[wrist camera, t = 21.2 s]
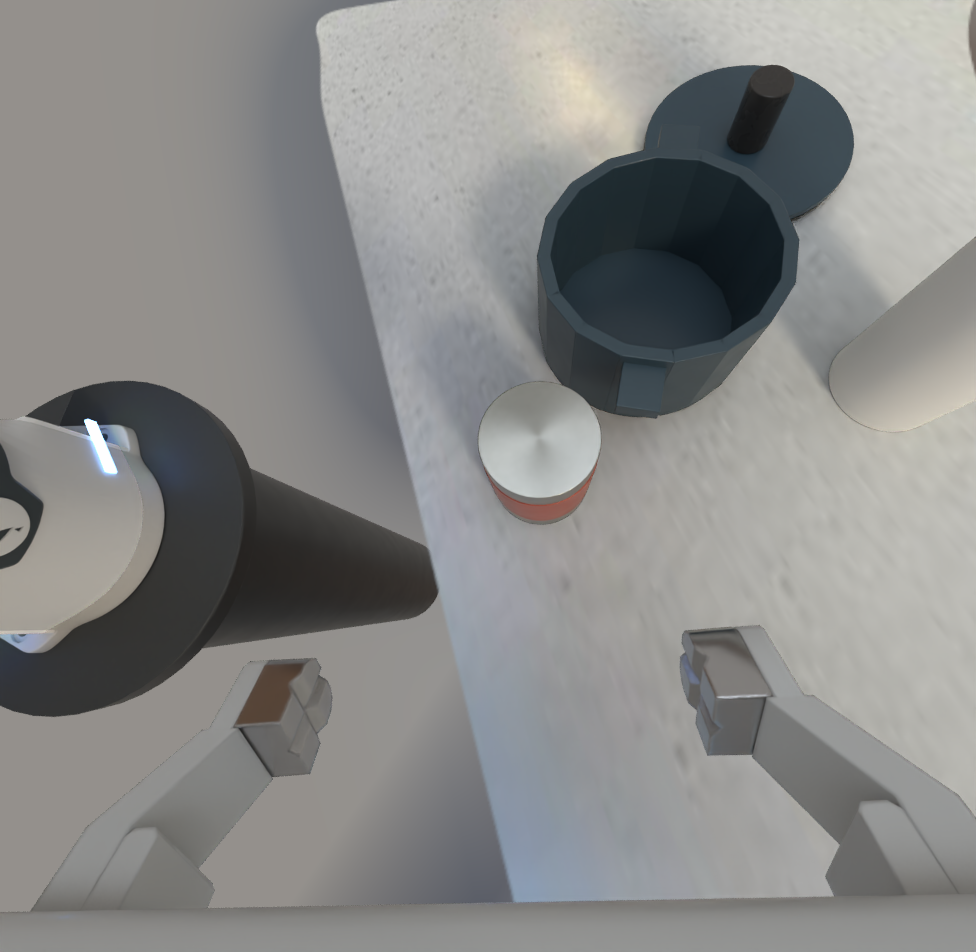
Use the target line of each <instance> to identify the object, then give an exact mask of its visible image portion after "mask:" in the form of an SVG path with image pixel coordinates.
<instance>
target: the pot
mask: <svg viewBox="0 0 976 952" xmlns="http://www.w3.org/2000/svg"><path fill="white" fill-rule="evenodd" d="M699 133H700V126H686V125H667V124H663V125H662V127H661V131H660V135H659V140H658V146H657V147H656V148H651V149H647V150H643V151H639V152H635V153H631V154H627V155H623V156H619V157H615V158H611V159H610V160H609V159H608V160H607V161H605V162H603V163H602V164H600V165H599V166H597V167H595V168H594V169H592V170H591V171H589V172H588V173H586V174H584V175H583V176H581V177H580V178H578V179H577V180H575V181H573V182H572V183H571V184H570V185H569V186H568V188H567V189H566V190H565V192H564V193H563V194H562V196H561V197H560V198H559V200H558V201H557V203H556V204H555V205H554V207H553V208H552V209H551V211H550V212H549V213H548V215H547V216H546V218H545V223H544V227H543V232H542V236H541V241H540V245H539V250H538V254H537V274H538V310H539V331H540V335H541V340H542V346H543V350H544V353H545V356H546V360H547V362H548V363H549V365H550V367H551V369H552V371H553V372H554V374H555V375H556V377H557V378H558V380H559V381H560V382H561V383H562V384H563V385H564V386H566V387H568V388H570V389H572V390H573V391H575V392H576V393H578V394H579V395H580V396H582V397H583V398H584V399H585V400H586V401H587V402H588V403H589V405H591V406H593V407H596V408H598V409H600V410H603V411H606V412H609V413H613V414H618V415H622V416H632V417H650V418H657V416H658V415H665V414H668V413H672V412H676V411H679V410H681V409H683V408H686V407H688V406H690V405H692V404H694V403H696V402H697V401H699V400H701V399H702V398H704V397H705V396H706V395H707V394H709V393H710V392H711V391H712V390H714V389H715V388H717V387H718V386H720V385H721V384H722V382H723V381H724V380H725V379H726V377H727V376H728V375H729V374H730V372H731V371H732V370H733V369H734V368H735V366H736V365H737V364H738V363H739V361H740V360H741V359H742V358H743V356H744V355H745V354H746V353H747V351H748V350H749V349H750V348H751V347H752V345H753V344H754V343H755V342H756V340H757V339H758V338H759V337H760V335H761V334H762V333H763V332H764V331H765V329H766V328H767V327H768V326H769V324H770V323H771V322H772V320H773V319H774V317H775V315H776V314H777V312H778V311H779V309H780V307H781V306H782V304H783V303H784V301H785V299H786V298H787V296H788V295H789V293H790V291H791V290H792V288H793V287H794V285H795V283H796V274H797V261H798V248H799V239H798V236H797V233H796V231H795V229H794V226H793V224H792V222H791V219H790V217H789V215H788V212H787V210H786V208H785V205H784V203H783V201H782V199H781V197H779V196H778V195H777V194H776V193H775V192H774V191H773V190H772V189H771V188H770V187H768V186H767V185H766V184H765V183H764V182H763V181H762V180H761V179H760V178H758V177H757V176H756V175H755V174H754V173H753V172H752V171H751V170H750V169H748V168H747V167H744V166H742V165H739V164H737V163H734V162H732V161H729V160H727V159H724V158H722V157H719V156H717V155H714V154H712V153H709V152H707V151H703V150H697V147H698V140H699Z"/></svg>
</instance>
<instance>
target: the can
mask: <svg viewBox="0 0 976 952" xmlns="http://www.w3.org/2000/svg"><path fill="white" fill-rule="evenodd" d="M601 442H602V437H601V429H600V424H599V421H598V418H597V416H596V414H595V412H594V410H593V409H592V407H591V406H590V405H589V403H588V402H587V401H586V400H585V399H584V398H583V397H582V396H580V395H579V394H578V393H576V392H575V391H573V390H572V389H570V388H568V387H566V386H563V385H560V384H557V383H552V382H543V381H540V382H529V383H524V384H521V385H518V386H515V387H513V388H511V389H509V390H507V391H506V392H504V393H503V394H502V395H500V396H499V397H498V398H497V399H496V400H495V401H494V402H493V403H492V404H491V405H490V406H489V408H488V409H487V411H486V412H485V414H484V416H483V418H482V421H481V424H480V427H479V432H478V450H479V454H480V458H481V461H482V463H483V466H484V469H485V471H486V474H487V476H488V478H489V480H490V482H491V484H492V486H493V489H494V491H495V493H496V495H497V496H498V498H499V500H500V501H501V503H502V504H503V506H504V507H505V508H506V509H507V510H508V511H509V512H510V513H511V514H512V515H513V516H515V517H516V518H518V519H520V520H522V521H525V522H528V523H532V524H551V523H554V522H558V521H560V520H562V519H564V518H566V517H568V516H569V515H570V514H571V513H573V512H574V511H575V510H576V509H577V507H578V506H579V505H580V503H581V502H582V500H583V498H584V496H585V494H586V492H587V490H588V487H589V484H590V482H591V479H592V476H593V474H594V471H595V468H596V465H597V461H598V458H599V454H600V450H601Z"/></svg>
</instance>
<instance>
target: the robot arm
mask: <svg viewBox="0 0 976 952" xmlns="http://www.w3.org/2000/svg"><path fill="white" fill-rule="evenodd" d="M84 422H85V424H86V426H56V425H53V424H50V423H47V422H44V421H40V420H37V419H34V418H30V417H24V416H21V417H19V418H18V419H16V420H13V419H0V638H2V639H3V640H5V641H7V642H8V643H10V644H12V645H13V646H15V647H17V648H18V649H20V650H21V651H23V652H26V653H44V652H46V651H48V650H50V649H51V648H53V647H54V646H55V645H56V644H58V643H59V642H60V641H61V640H62V639H63V638H64V637H65V636H66V635H68V634H69V633H70V632H71V631H72V630H73V629H74V628H76V627H78V626H80V625H82V624H84V623H87V622H89V621H92V620H94V619H96V618H99V617H101V616H103V615H104V614H106V613H108V612H110V611H111V610H113V609H114V608H116V607H117V606H118V605H119V604H121V603H122V602H123V601H124V600H125V599H127V598H128V597H129V596H130V595H131V594H132V593H133V591H134V590H135V589H136V588H137V587H138V586H139V584H140V583H141V582H142V580H143V579H144V577H145V576H146V574H147V573H148V571H149V569H150V568H151V566H152V564H153V562H154V560H155V557H156V555H157V552H158V550H159V547H160V543H161V540H162V535H163V529H164V519H165V512H164V503H163V497H162V493H161V490H160V487H159V485H158V483H157V481H156V479H155V477H154V476H153V474H152V473H151V472H150V470H149V469H148V468H147V466H146V465H145V463H144V462H143V460H142V458H141V455H140V449H139V443H138V439H137V436H136V433H135V432H134V430H133V429H131V428H128V427H125V426H121V425H97V422H95V421H92V420H89V419H86V420H85V421H84ZM682 645H683V648H684V650H685V653H684V654H683V655H682V656H681V657H680V674H681V681H682V685H683V689H684V692H685V695H686V698H687V701H688V703H689V704H690V705H691V706H692V707H694V708H695V709H696V710H697V715H696V726H697V729H698V731H699V734H700V737H701V740H702V742H703V745H704V748H705V750H706V753H707V756H708V755H752V757H753V758H754V759H755V760H756V761H757V762H758V763H759V764H760V765H761V766H762V767H763V768H764V769H765V770H766V771H767V772H768V773H769V774H770V775H771V776H772V777H773V778H774V779H775V780H776V781H777V782H778V783H779V784H780V785H781V786H782V787H783V788H784V789H785V790H786V791H787V792H788V793H789V794H790V795H791V796H792V797H793V798H794V799H795V800H796V801H797V802H798V803H799V804H800V805H801V806H802V807H803V808H804V809H805V810H806V811H807V812H808V813H809V814H810V815H811V816H812V817H813V818H814V819H815V820H816V821H817V822H818V823H819V824H820V825H821V826H822V827H823V828H824V829H825V830H826V831H827V832H828V833H829V834H830V835H831V836H832V837H833V838H834V839H835V840H836V841H837V842H838V843H839V844H840V846H839V848H838V850H837V852H836V854H835V857H834V859H833V861H832V863H831V865H830V867H829V869H828V871H827V873H826V876H825V877H826V879H827V881H828V884H829V886H830V888H831V890H832V892H833V894H834V896H833V897H778V898H724V899H670V900H616V901H562V902H511V903H510V902H509V903H458V904H407V905H405V904H404V905H355V906H354V905H353V906H352V905H351V906H304V907H303V906H299V907H247V908H208V905H209V903H210V900H211V898H212V895H213V893H214V887H213V883H212V882H211V881H210V880H209V879H208V878H207V877H206V876H205V875H204V874H203V873H202V872H201V871H200V870H199V867H200V866H201V865H202V864H203V863H204V861H205V860H206V859H207V858H208V857H209V855H210V854H211V853H212V852H213V850H214V849H215V848H216V847H217V846H218V844H219V843H220V842H221V841H222V839H224V837H225V836H226V835H227V834H228V833H229V831H230V830H231V829H232V828H233V827H234V825H235V824H236V823H237V822H238V821H239V819H240V818H241V817H242V816H243V814H244V813H245V812H246V811H247V810H248V809H249V807H250V806H251V805H252V804H253V802H254V801H255V800H256V799H257V798H258V797H259V795H260V794H261V793H262V792H263V791H264V789H265V788H266V787H267V786H268V785H269V783H270V782H271V781H272V780H273V778H272V777H279V776H292V775H305V774H310V773H311V770H312V767H313V764H314V761H315V758H316V755H317V752H318V749H319V746H320V741H319V738H318V735H317V733H318V732H319V731H320V730H321V729H322V728H323V727H324V726H325V725H326V724H327V722H328V719H329V716H330V713H331V707H332V692H331V688H330V685H329V683H328V681H327V680H326V679H324V678H323V677H321V676H320V675H319V673H320V670H321V666H320V664H319V663H318V661H317V659H316V658H309V659H308V658H306V659H283V660H266V661H250V662H249V663H248V664H247V665H245V666H244V667H243V669H242V670H241V672H240V674H239V676H238V678H237V679H236V681H235V683H234V685H233V687H232V688H231V690H230V692H229V694H228V696H227V697H226V699H225V701H224V703H223V704H222V706H221V708H220V710H219V711H218V713H217V715H216V717H215V719H214V721H213V722H212V724H211V726H210V728H209V729H208V730H201V731H200V732H199V733H198V734H197V735H196V736H194V737H193V738H192V739H191V740H190V741H188V742H187V743H186V744H185V745H184V746H182V747H181V748H180V749H179V750H178V751H176V752H175V753H174V754H173V755H172V756H170V757H169V758H168V759H167V760H166V761H165V762H163V763H162V764H161V765H160V766H159V767H157V768H156V769H155V770H154V771H153V772H151V773H150V774H149V775H148V776H147V777H145V778H144V779H143V780H142V781H141V782H139V783H138V784H137V785H136V786H135V787H134V788H132V789H131V790H130V791H129V792H128V793H126V794H125V795H124V796H123V797H122V798H120V799H119V800H118V801H117V802H116V803H114V804H113V805H112V806H111V807H110V808H108V809H107V810H106V811H105V812H104V813H103V814H101V815H100V816H99V817H98V818H97V819H95V820H94V821H93V822H92V823H91V824H90V825H88V826H87V827H86V829H85V830H84V832H83V833H82V835H81V836H80V838H79V839H78V841H77V842H76V844H75V845H74V847H73V848H72V850H71V851H70V853H69V854H68V856H67V857H66V859H65V860H64V862H63V863H62V865H61V866H60V868H59V869H58V871H57V872H56V874H55V875H54V877H53V878H52V880H51V881H50V883H49V884H48V886H47V887H46V889H45V890H44V892H43V893H42V895H41V896H40V898H39V899H38V901H37V902H36V904H35V905H34V907H33V908H32V910H31V911H30V912H0V952H976V817H975V816H974V815H973V813H972V812H971V811H970V809H969V808H968V807H967V805H966V804H965V803H964V801H963V800H962V799H961V797H960V796H959V795H958V794H956V793H955V792H953V791H952V790H950V789H949V788H947V787H946V786H945V785H943V784H942V783H940V782H939V781H937V780H936V779H934V778H933V777H931V776H930V775H929V774H927V773H926V772H924V771H923V770H921V769H920V768H918V767H917V766H915V765H914V764H913V763H911V762H910V761H908V760H907V759H905V758H904V757H902V756H901V755H899V754H898V753H897V752H895V751H894V750H892V749H891V748H889V747H888V746H886V745H885V744H883V743H882V742H881V741H879V740H878V739H876V738H875V737H873V736H872V735H870V734H869V733H867V732H866V731H865V730H863V729H862V728H860V727H859V726H857V725H856V724H854V723H853V722H851V721H850V720H849V719H847V718H846V717H844V716H843V715H841V714H840V713H838V712H837V711H835V710H834V709H833V708H831V707H830V706H828V705H827V704H825V703H824V702H822V701H821V700H820V699H818V698H817V697H815V696H814V695H804V693H803V692H802V690H801V688H800V687H799V685H798V683H797V682H796V680H795V678H794V677H793V675H792V674H791V672H790V670H789V669H788V667H787V665H786V664H785V662H784V660H783V659H782V657H781V655H780V654H779V652H778V651H777V649H776V647H775V646H774V644H773V642H772V641H771V639H770V637H769V636H768V634H767V633H766V631H765V629H764V628H762V627H761V626H760V625H754V626H740V627H721V628H710V629H698V630H686V631H684V633H683V634H682Z"/></svg>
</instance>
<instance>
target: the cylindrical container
mask: <svg viewBox="0 0 976 952" xmlns="http://www.w3.org/2000/svg"><path fill="white" fill-rule="evenodd" d="M829 386H830V389H831V392H832V395H833V397H834V399H835V401H836V403H837V404H838V405H839V407H840V408H841V409H842V410H843V411H844V412H845V413H846V414H847V415H848V416H849V417H851V418H852V419H853V420H855V421H857V422H858V423H860V424H862V425H864V426H867V427H869V428H872V429H875V430H880V431H885V432H901V431H908V430H911V429H914V428H917V427H919V426H922V425H924V424H926V423H928V422H930V421H932V420H935V419H937V418H939V417H941V416H943V415H945V414H947V413H950V412H952V411H954V410H956V409H958V408H960V407H963V406H965V405H967V404H969V403H971V402H973V401H976V237H975V238H973V239H972V240H971V241H970V242H969V243H968V244H966V245H965V246H964V247H963V248H962V249H960V250H959V251H958V252H957V253H956V254H954V255H953V256H952V257H951V258H950V259H948V260H947V261H946V262H945V263H944V264H943V265H941V266H940V267H939V268H938V269H937V270H935V271H934V272H933V273H932V274H931V275H929V276H928V277H927V278H926V279H925V280H924V281H922V282H921V283H920V284H919V285H918V286H916V287H915V288H914V289H913V290H912V291H910V292H909V293H908V294H907V295H906V296H905V297H903V298H902V299H901V300H900V301H899V302H897V303H896V304H895V305H894V306H893V307H892V308H890V309H889V310H888V311H887V312H886V313H885V314H883V315H882V316H881V317H880V318H879V319H877V320H876V321H875V322H874V323H873V324H872V325H870V326H869V327H868V328H867V329H866V330H865V331H863V332H862V333H861V334H860V335H859V336H857V337H856V338H855V339H854V340H853V341H852V342H850V343H849V344H848V345H847V346H846V347H845V348H843V349H842V350H841V351H840V352H839V353H838V354H837V356H836V357H835V358H834V360H833V362H832V365H831V367H830V372H829Z"/></svg>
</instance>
